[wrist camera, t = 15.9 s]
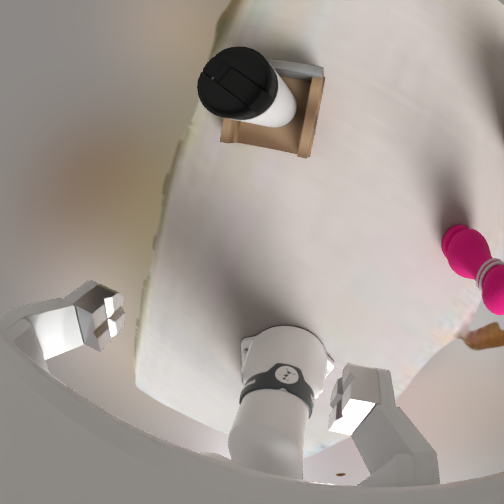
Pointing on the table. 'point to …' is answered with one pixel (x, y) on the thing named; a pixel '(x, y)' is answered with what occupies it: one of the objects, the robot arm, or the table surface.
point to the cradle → (303, 124)
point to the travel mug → (246, 89)
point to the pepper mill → (476, 264)
